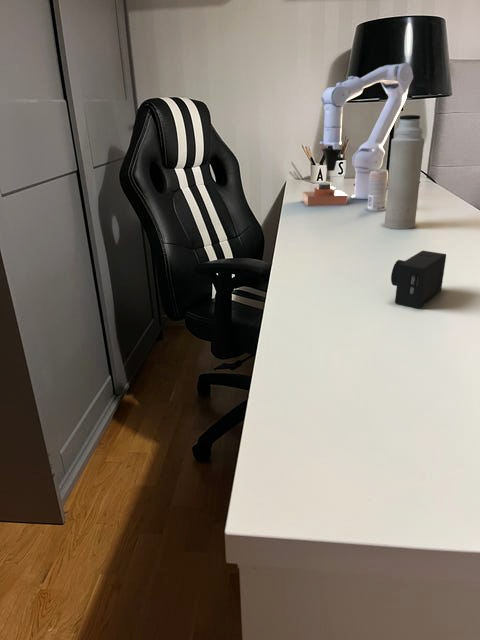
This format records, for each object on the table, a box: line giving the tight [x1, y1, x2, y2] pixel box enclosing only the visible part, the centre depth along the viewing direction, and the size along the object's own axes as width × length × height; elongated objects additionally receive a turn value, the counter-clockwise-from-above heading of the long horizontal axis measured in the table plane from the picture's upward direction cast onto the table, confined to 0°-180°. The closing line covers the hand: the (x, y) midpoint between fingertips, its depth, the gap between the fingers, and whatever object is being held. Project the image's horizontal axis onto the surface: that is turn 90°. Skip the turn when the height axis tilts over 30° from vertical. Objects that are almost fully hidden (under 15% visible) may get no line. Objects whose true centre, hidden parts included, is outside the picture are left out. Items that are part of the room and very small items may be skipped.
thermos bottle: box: [383, 114, 425, 230], centre depth 131 cm, size 8×8×28 cm
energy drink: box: [366, 168, 389, 212], centre depth 155 cm, size 5×5×12 cm
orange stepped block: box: [302, 186, 348, 207], centre depth 169 cm, size 13×10×5 cm
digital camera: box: [390, 250, 447, 310], centre depth 86 cm, size 10×5×7 cm, turn 141°
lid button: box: [318, 182, 332, 189], centre depth 168 cm, size 4×4×2 cm
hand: (330, 170), depth 168 cm, fingers closed
